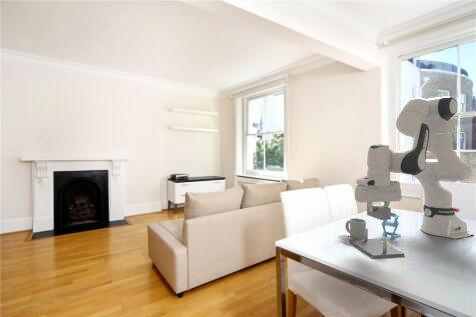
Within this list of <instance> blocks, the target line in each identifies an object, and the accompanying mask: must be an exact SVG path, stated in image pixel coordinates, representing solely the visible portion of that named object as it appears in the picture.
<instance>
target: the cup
mask: <svg viewBox="0 0 476 317" xmlns="http://www.w3.org/2000/svg"><path fill="white" fill-rule="evenodd" d="M364 228H367V220H365V219H362V218H355V217H353V218H350V219H349V220H346V222H345V230H346V232H347V233H348V234H349V237H350V238H351V239H352V240H357V239H364Z"/></svg>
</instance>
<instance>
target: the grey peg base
mask: <svg viewBox="0 0 476 317" xmlns="http://www.w3.org/2000/svg"><path fill="white" fill-rule="evenodd" d="M368 237H369V229H368V228H367V227H366V228H364V239H357V240H356V239H349V243H350V244H351V245H352V246H354V247H356V248H357V249H358V250H360V251H362V252H363V253H364V254H366V255H368V256H370V258H372V259H383V258H398V257H400V258H401V257H405V253H404V252H402V251H400V250H399V249H397V248H395V247H394V246H391V245H389V244H388V237H387V238H385V237H382V240H380V239H378V238H368Z"/></svg>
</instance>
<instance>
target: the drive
mask: <svg viewBox="0 0 476 317" xmlns="http://www.w3.org/2000/svg"><path fill="white" fill-rule="evenodd" d="M372 207H373V208H375V212H370V211H369V207H368V205H367V204H366V216H369V217H372V218H375V219H376V220H380V221H383V220H387V221H392V216H391V213H392V208H391V207H389V206H388V207H386V206H384V205H382V204H378V203H373V205H372Z"/></svg>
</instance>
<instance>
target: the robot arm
mask: <svg viewBox="0 0 476 317" xmlns="http://www.w3.org/2000/svg"><path fill="white" fill-rule="evenodd" d="M457 112H458V102H457V100H456V99H455V98H454V97H452V96H442V97H434V98H427V99H425V98H422V97H415V98H412V99H410V100H409V101H408V102H407V103H406V104H405V105H404V107H403V108H402V110H401V111H400V113H399V114H398V117H397V119H396V122H395V126H396V130H397V131H398V132H399V133H400V134H402V135H404V136H407V137H410V138H413V144H412V148H411V149H409V150H407V151H393V150H391V149H390V145H389V144H386V143H378V144H373V145H370V146H369V147H368V151H367V157H366V158H367V160H366V164H367V173H366V176H365V175H364V176H363V177H360V178H358V179H356V180H355V181H356V184H357V185H356V186H355V189H354V190H355V191H354V199H355V201H356V202H358V203H361V204H362V203H363V204H364V203H366V206H367V205H368V207H369V211H370V212H375V208H373V207H372V205H373V204H374V203H383V206H386V207H389V206H390V204H391V202H401V200H402V190H401V183H400V182H399V181H398V180H396V179H395V180H391V173H393V174H405V175H411V176H413V177H414V178H415V179H416V180H418V182H419V183H420V184H421V186H422V188H423V193H424V204H423V212H424V213H423V217H422V222H421V225H420V231H421V232H423V233H426V234H429V235H433V236H437V237H445V238H449V239H460V238H461V239H462V238H466V237H472V236H471V235H473V236H474V234H475V233H473V232H472V231H470V230H468V226H467V223H466V222H465V220H463V219H462V218H460V217H459V216H458V215H456V213H459V212H460V208H457V207H453V194H452V192H451V191H450V190H449V189H448V188H446V187H444V186H442V184H441V183H440V181H442V182H456V183H457V182H465V181H467V180H468V179H469V178H471V176H472V167H471V165H470V164H469V163H468V162H466V161H465V160H463V159H462V158H460V157H459V155H457V153H456V151H455V149H454V146H453V136H452V135H453V133H452V131H453V130H452V122H451V119H452V118H453V117H454V116H455V115H456V113H457ZM427 152H428V153H431V154H433V155H434V156H435V157H436V159H427V158H426V157H427Z"/></svg>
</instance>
